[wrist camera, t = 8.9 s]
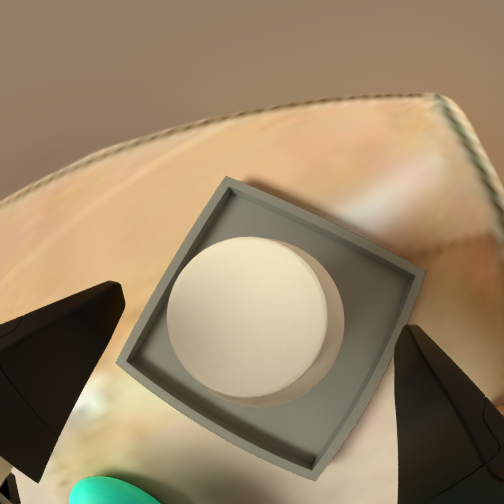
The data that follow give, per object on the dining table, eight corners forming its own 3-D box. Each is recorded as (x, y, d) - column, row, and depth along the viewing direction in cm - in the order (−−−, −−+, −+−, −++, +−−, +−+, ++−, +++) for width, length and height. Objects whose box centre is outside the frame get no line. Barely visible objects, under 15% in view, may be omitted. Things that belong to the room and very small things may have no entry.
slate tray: (313, 469, 14) (315, 481, 12) (129, 362, 17) (115, 363, 16) (415, 277, 17) (426, 270, 15) (230, 189, 20) (225, 175, 19)
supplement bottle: (219, 291, 17) (135, 226, 8) (311, 276, 17) (335, 188, 7) (230, 383, 16) (150, 431, 6) (326, 370, 15) (379, 408, 6)
